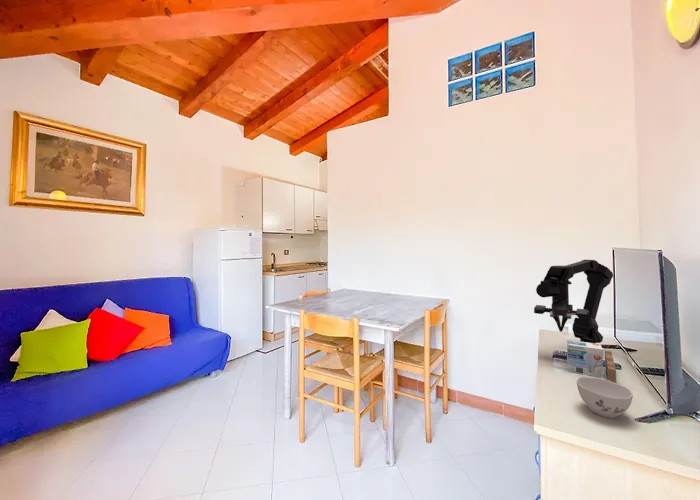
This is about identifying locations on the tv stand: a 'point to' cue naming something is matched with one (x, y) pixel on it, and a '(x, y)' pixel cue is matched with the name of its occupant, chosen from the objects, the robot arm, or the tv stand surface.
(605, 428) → the tv stand surface
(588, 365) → the light bulb box
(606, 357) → the walnut plank
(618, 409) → the white floral bowl
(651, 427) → the tv stand surface
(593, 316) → the robot arm
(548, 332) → the tv stand surface
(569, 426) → the tv stand surface
